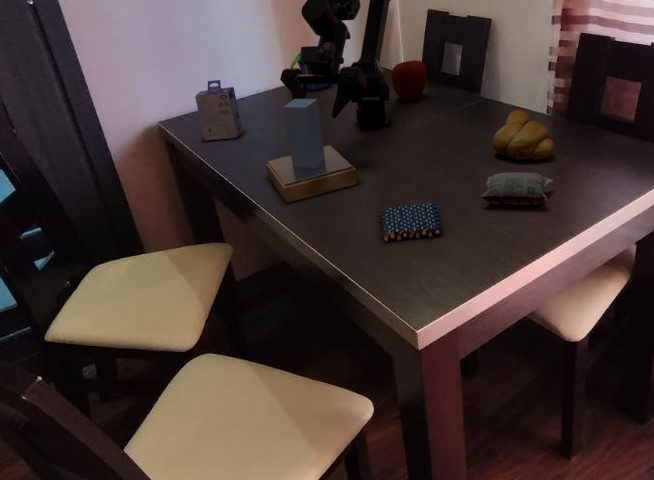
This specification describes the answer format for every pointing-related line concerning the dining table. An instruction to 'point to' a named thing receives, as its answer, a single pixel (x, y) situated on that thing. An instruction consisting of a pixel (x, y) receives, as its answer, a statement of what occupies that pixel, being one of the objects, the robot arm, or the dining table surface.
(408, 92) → the apple
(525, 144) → the bread roll
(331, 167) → the stand
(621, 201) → the dining table surface
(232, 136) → the ink cartridge box
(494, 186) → the packaged food
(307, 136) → the packet
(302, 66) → the snack cup
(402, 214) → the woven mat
